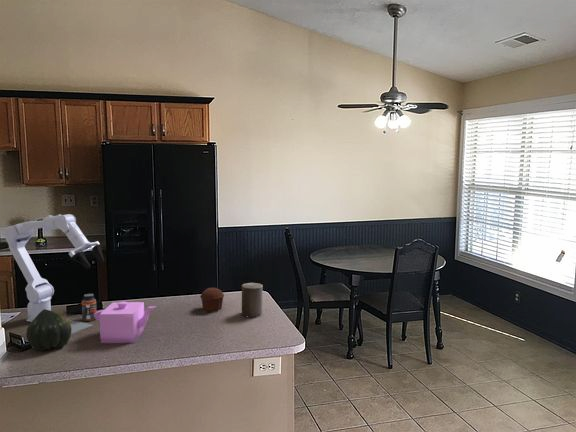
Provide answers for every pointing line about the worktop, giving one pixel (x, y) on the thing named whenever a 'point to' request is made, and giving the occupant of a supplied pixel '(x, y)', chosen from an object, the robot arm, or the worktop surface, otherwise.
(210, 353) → the worktop surface
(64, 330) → the squash
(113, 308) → the teapot
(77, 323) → the mat
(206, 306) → the muffin
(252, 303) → the grey lidded canister
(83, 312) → the supplement bottle
